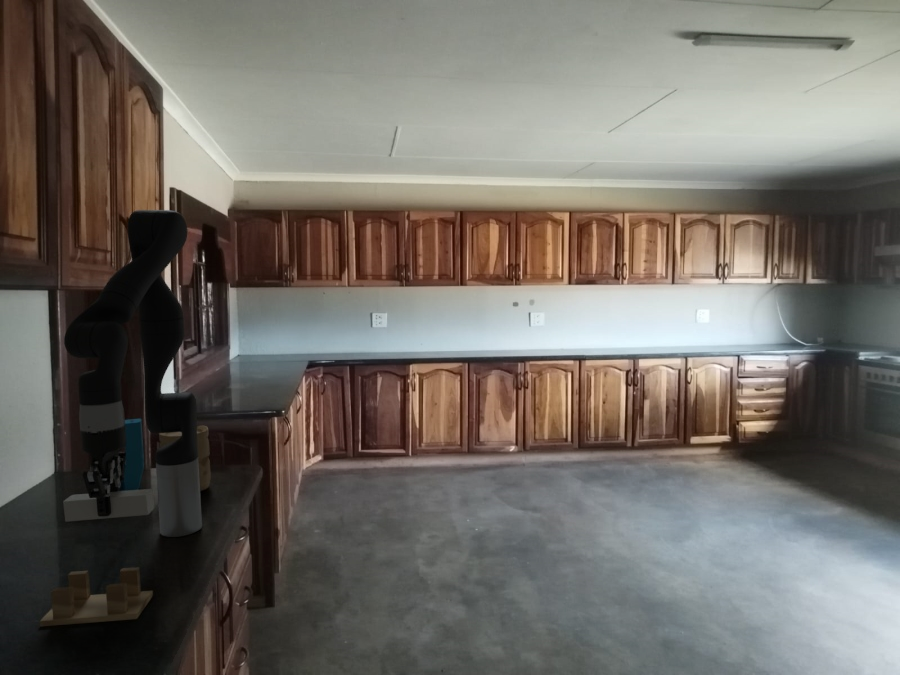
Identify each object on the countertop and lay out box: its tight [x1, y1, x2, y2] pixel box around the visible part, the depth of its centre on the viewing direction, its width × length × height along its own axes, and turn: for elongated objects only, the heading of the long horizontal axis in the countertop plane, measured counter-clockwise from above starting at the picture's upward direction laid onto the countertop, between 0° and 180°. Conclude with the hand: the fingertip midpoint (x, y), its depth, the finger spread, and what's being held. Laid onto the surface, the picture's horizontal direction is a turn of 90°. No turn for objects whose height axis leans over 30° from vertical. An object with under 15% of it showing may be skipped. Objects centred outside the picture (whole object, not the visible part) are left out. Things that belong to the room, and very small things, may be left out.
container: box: [158, 425, 212, 492], centre depth 170 cm, size 13×13×18 cm
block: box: [102, 418, 145, 491], centre depth 171 cm, size 12×5×20 cm, turn 113°
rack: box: [39, 566, 154, 627], centre depth 111 cm, size 8×16×6 cm, turn 97°
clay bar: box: [62, 488, 155, 523], centre depth 118 cm, size 4×15×4 cm, turn 97°
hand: (109, 511), depth 118 cm, fingers closed on clay bar, 3 cm apart
